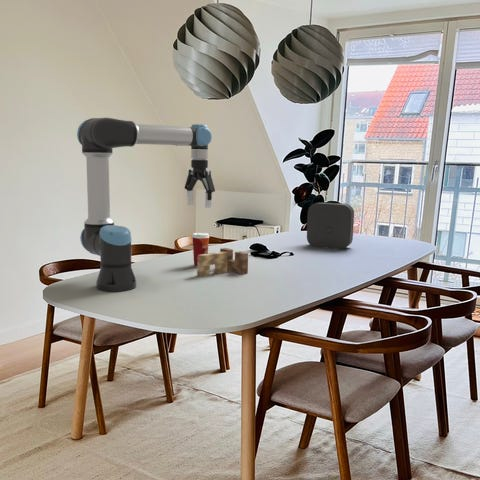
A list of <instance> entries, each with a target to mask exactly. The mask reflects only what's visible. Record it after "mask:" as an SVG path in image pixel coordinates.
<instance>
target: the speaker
mask: <svg viewBox="0 0 480 480" xmlns="http://www.w3.org/2000/svg"><path fill="white" fill-rule="evenodd" d="M306 219H307V220H306V221H307V222H306V223H307V224H306V240H307V243H308V244H309V245H310V246H312V247H314V246H316V247H315V248H322V247H328V248H327V249H334V248H340V249H339V250H344V249H346V248H348V247H349V246H350V245H352V242H353V239H354V238H353V237H354V225H355V223H354V220H355V211H354V208H353V206H351V205H350V204H348V203H340V202H339V203H338V202H315V203H312V204H311V205H309V207H308V210H307V218H306Z"/></svg>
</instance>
